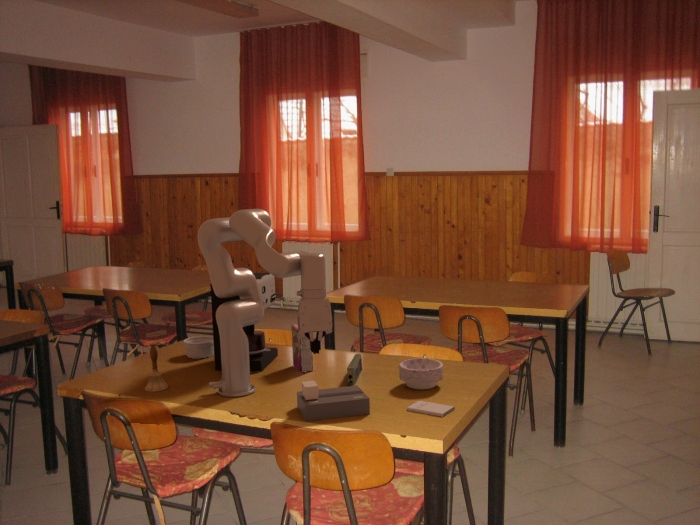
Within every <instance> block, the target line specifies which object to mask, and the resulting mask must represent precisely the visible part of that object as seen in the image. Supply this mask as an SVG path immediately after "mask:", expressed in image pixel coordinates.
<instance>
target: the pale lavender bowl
mask: <svg viewBox="0 0 700 525" xmlns="http://www.w3.org/2000/svg"><path fill="white" fill-rule="evenodd" d="M398 365H399V366H398V371H399V376H398V377H399V380H401V381H402V382H404V383H405V385H406V386H407V388H410V389H413V390H421V391H422V390H423V391H424V390H430V389H432V388H435V387H436V386H437V385H438V383H439V382H440V381H442V380H443V379H444V363H443V362H442V361H440V360H437V359H434V358H426V357H425V358H423V357H421V358H419V357H418V358H409V359H406V360H403V361H401V362H399V364H398Z"/></svg>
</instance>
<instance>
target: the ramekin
mask: <svg viewBox="0 0 700 525" xmlns="http://www.w3.org/2000/svg"><path fill="white" fill-rule="evenodd" d="M183 345H184V350H185V355H186V357H187V358H189V359H191V358H192V359H193V360H199V359H200V360H201V358H203V359H208V358H211V357H214V341H213V336H208V335H204V336H203V335H201V336H200V335H199V336H192V337H188V338H185V339H184V340H183ZM210 356H211V357H210ZM207 357H208V358H207Z"/></svg>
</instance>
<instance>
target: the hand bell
mask: <svg viewBox="0 0 700 525" xmlns="http://www.w3.org/2000/svg"><path fill="white" fill-rule="evenodd" d="M149 356H150V360H151V362H152V363H151V365H152V367H151V368H152V372H150V373H149V374H148V382H147V384H146V385H145V387H144V389H145V390H144V391H145V392H148V393H149V392H151V393H152V392H153V393H155V392H156V391H157V392H161V391H165V390H167V389H169V385H168V384H167V382H165V380H164V377H163V372H161V371H159V370H158V361H157V360H158V349H157V347H156V344H154V343H152V344H150V349H149Z"/></svg>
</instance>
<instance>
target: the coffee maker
mask: <svg viewBox="0 0 700 525" xmlns="http://www.w3.org/2000/svg"><path fill="white" fill-rule="evenodd" d="M252 273H253V274H254V276H255V278H256V280H257V284H258V287H259V291H260V295H261V299H262V302H263V307H264V311H265V310H267V309H268V308H269V307H271V306H273V305H274V304H275V303H276V296H277V295H276V280H275V278H276V277H275V276H273V275H272V274H270V273H269V272H252ZM209 287H210V300H211V317H212V318H211V320H212V337H213V341H214V354H213V358H214V371H215V372H222V364H221V347H220V335H219V329H218V325H217V321H216V311H217V309H218V307H219V306H220V305H222V304H223V303H225V302H229V301H234V300H239V299H240V297H239V296H234V297H229V298H219V297H217V296H216V294H215V293H214V290H213V287H212V283H210V284H209ZM242 328H243V331H244V332H245V334H246V336H247V338H248V343H249V363H250V371H253V373H254V371H262V372H263V371H264V370H265V369H266V368H267V367H268V366H269V365H270V364H271V363H273V361H274V360H275V359H276V358H277V357H278V356H279V352H278V351H279V350H278V349H279V348H277V347H266V343H267V342H266V335H265V331H263V330H265V329H263V330H257V329H256V327H255V324H253V325H249V326H245V327H242ZM255 329H256V330H255Z"/></svg>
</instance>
